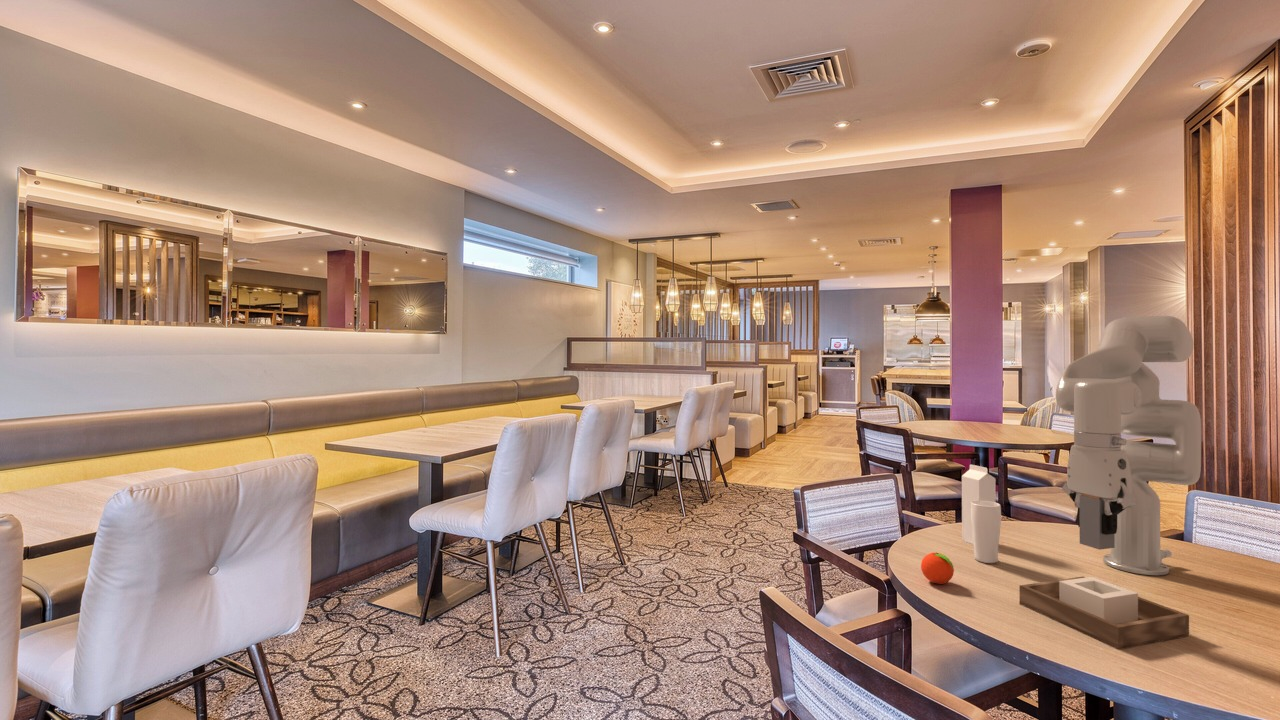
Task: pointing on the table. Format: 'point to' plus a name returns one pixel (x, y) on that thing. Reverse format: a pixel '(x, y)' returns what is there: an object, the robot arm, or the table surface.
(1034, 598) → the crate
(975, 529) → the drinking glass
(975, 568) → the table surface
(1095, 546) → the plug
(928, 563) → the clementine
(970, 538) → the milk
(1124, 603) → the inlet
